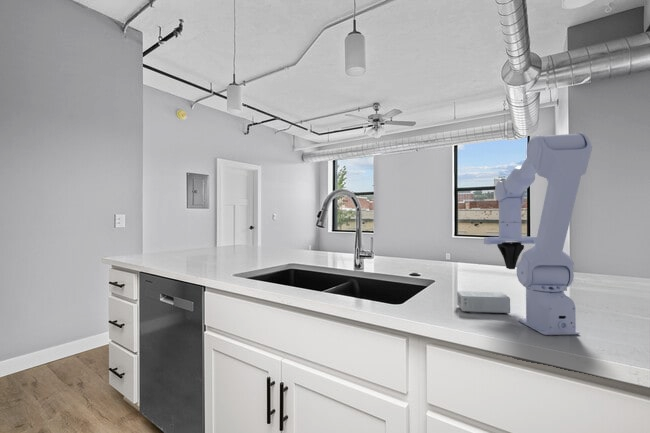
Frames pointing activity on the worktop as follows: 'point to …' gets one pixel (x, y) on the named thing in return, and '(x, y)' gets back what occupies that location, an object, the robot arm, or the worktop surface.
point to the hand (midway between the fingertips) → (510, 268)
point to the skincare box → (483, 301)
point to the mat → (481, 312)
